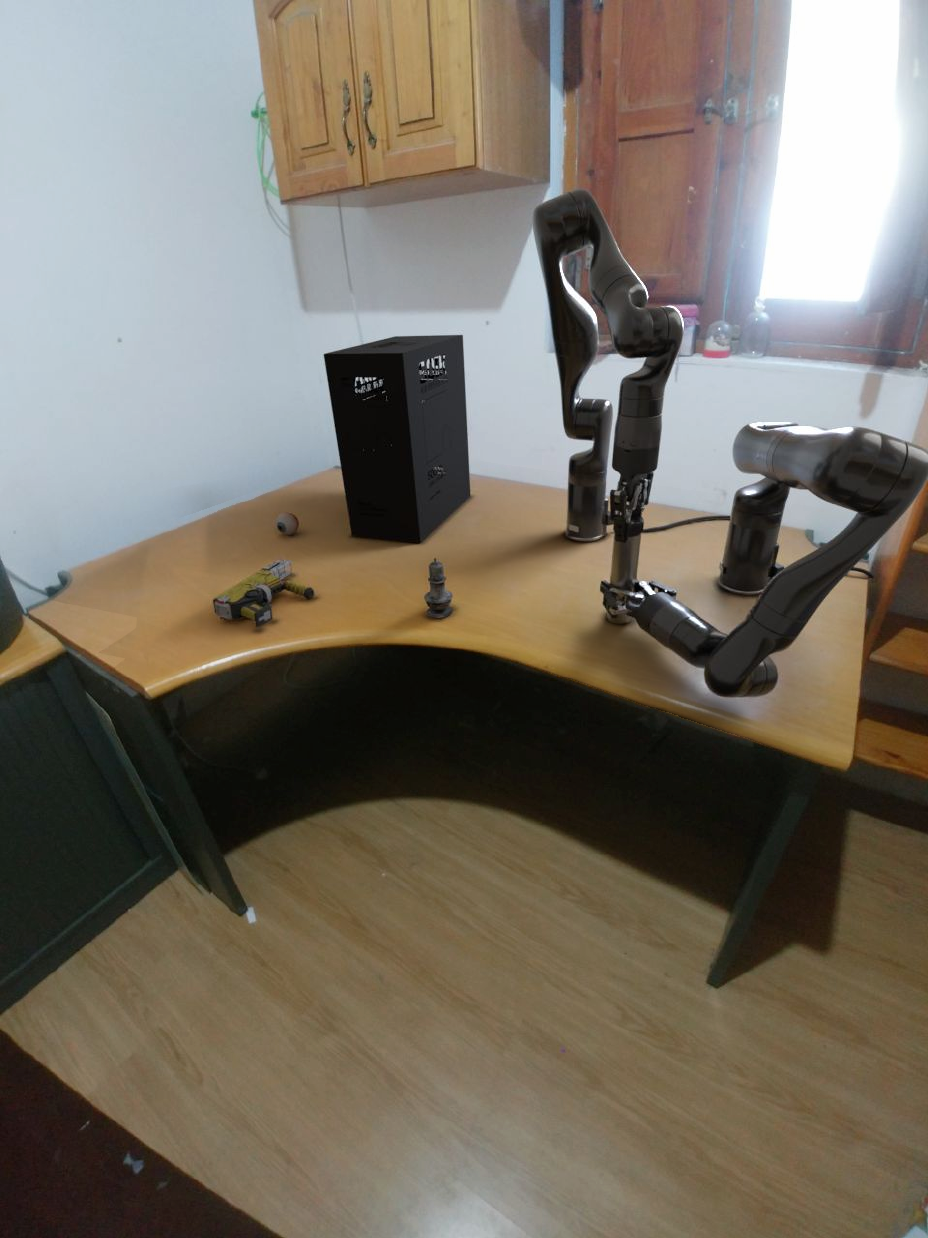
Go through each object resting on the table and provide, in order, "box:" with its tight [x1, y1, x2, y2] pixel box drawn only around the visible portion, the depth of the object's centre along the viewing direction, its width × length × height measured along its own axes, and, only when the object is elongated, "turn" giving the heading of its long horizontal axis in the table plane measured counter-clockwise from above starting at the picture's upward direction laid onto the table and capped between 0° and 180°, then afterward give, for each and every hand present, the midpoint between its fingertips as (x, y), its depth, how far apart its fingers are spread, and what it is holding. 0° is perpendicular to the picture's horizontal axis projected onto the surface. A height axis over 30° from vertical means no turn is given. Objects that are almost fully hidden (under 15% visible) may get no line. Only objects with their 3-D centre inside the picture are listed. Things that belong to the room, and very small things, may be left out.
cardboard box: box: [323, 334, 471, 544], centre depth 162 cm, size 38×20×45 cm, turn 159°
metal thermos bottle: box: [606, 531, 642, 625], centre depth 113 cm, size 5×5×20 cm
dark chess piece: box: [423, 557, 454, 619], centre depth 120 cm, size 6×6×12 cm
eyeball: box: [275, 511, 300, 536], centre depth 163 cm, size 6×6×6 cm
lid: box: [612, 514, 645, 536], centre depth 108 cm, size 5×5×2 cm
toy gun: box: [212, 558, 315, 628], centre depth 130 cm, size 5×24×15 cm
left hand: (627, 535), depth 109 cm, fingers closed on lid, 5 cm apart
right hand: (614, 582), depth 116 cm, fingers closed on metal thermos bottle, 4 cm apart
